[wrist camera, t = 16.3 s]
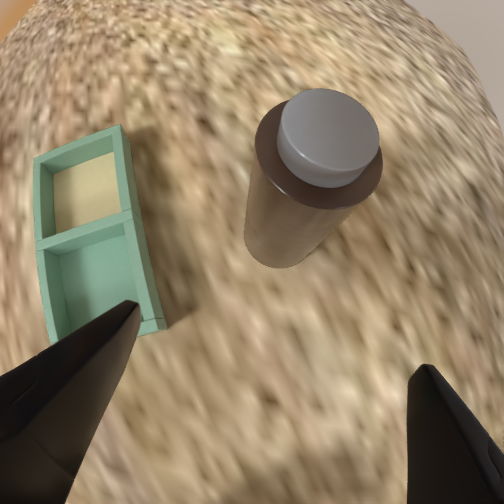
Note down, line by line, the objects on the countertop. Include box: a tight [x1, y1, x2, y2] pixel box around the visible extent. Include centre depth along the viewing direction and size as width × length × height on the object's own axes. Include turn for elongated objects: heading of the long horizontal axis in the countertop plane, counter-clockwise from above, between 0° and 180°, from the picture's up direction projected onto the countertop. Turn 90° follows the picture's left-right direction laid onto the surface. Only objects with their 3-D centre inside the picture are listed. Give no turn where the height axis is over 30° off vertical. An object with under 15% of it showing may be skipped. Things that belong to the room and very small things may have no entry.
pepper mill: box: [244, 88, 383, 268], centre depth 17 cm, size 5×5×14 cm
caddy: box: [33, 124, 168, 345], centre depth 21 cm, size 16×8×3 cm, turn 17°
